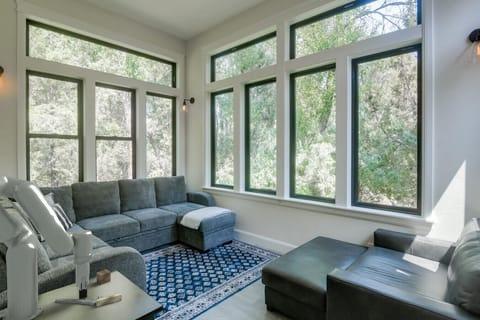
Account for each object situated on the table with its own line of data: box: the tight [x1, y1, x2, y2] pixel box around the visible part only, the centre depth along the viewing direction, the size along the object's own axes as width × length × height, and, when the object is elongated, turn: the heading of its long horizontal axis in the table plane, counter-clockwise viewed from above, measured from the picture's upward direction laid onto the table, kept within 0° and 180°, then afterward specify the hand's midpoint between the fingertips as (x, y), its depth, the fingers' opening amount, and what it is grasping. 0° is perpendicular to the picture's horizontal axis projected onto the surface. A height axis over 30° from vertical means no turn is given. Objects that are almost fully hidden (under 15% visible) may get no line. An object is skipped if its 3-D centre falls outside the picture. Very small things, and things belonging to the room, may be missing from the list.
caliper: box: [55, 296, 103, 307], centre depth 114 cm, size 20×1×6 cm
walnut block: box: [95, 269, 112, 286], centre depth 134 cm, size 5×5×5 cm
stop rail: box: [96, 292, 123, 307], centre depth 115 cm, size 10×2×2 cm, turn 121°
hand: (83, 297), depth 118 cm, fingers closed
